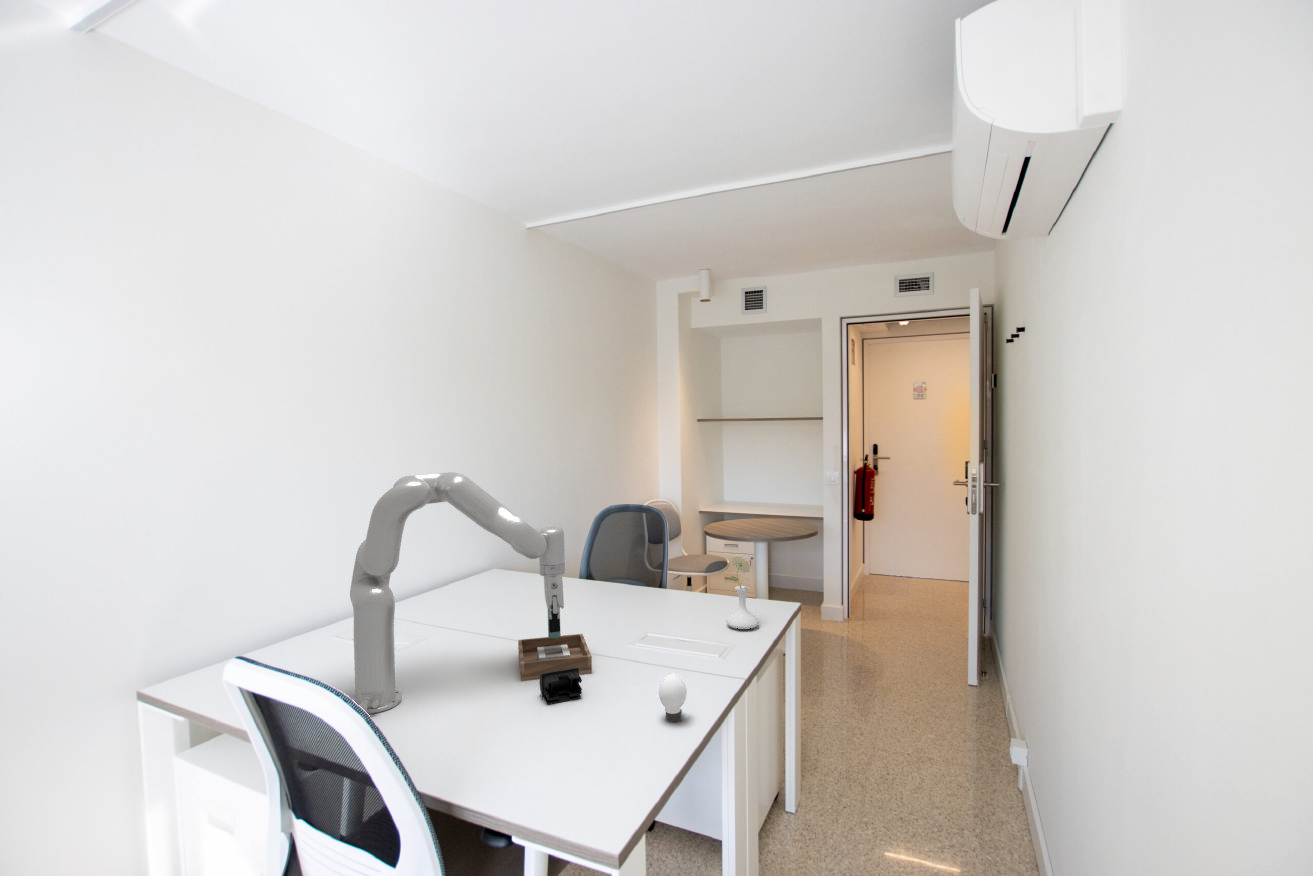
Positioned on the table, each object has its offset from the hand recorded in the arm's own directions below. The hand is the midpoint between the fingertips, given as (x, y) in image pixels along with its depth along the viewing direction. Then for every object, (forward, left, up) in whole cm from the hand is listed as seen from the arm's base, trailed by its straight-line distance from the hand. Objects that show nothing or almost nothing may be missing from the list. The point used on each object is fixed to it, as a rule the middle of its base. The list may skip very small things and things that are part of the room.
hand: (554, 629), depth 188 cm
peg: (0, 0, -2) cm, 2 cm away
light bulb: (-43, -25, -11) cm, 51 cm away
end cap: (-23, 0, -11) cm, 26 cm away
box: (0, 0, -11) cm, 11 cm away
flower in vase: (+17, -67, -11) cm, 70 cm away
